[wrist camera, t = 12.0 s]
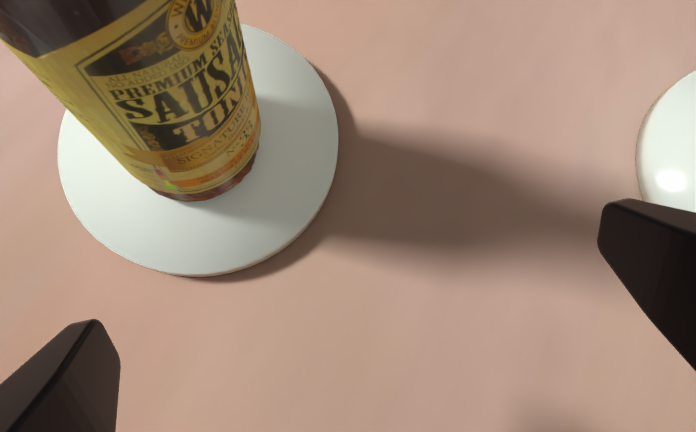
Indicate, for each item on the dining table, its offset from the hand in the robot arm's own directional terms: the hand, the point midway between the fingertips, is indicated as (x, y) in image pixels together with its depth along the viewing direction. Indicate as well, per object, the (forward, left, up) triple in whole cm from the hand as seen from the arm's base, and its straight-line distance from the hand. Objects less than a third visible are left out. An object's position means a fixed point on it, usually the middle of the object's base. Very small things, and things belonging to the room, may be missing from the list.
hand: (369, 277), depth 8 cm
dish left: (+11, -1, -14) cm, 17 cm away
